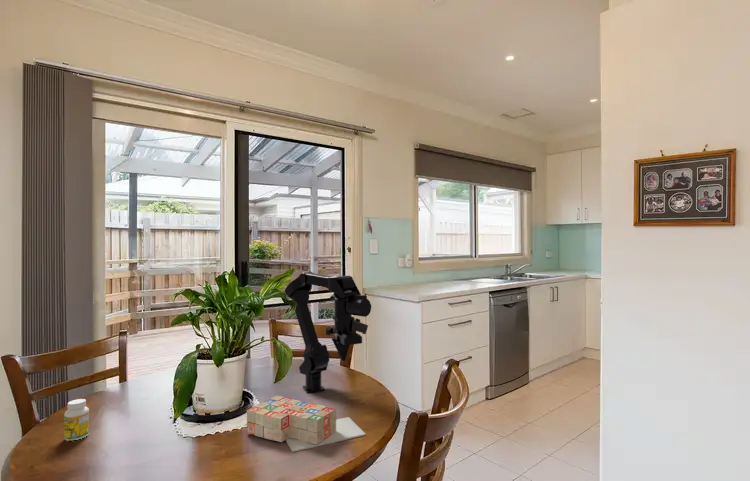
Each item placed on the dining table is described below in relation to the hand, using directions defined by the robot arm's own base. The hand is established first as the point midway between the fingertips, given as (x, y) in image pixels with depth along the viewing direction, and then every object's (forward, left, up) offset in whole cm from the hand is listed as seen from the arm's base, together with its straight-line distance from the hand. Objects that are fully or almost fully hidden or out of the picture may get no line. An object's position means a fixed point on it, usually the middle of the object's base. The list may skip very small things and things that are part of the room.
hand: (343, 360), depth 134 cm
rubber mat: (+20, -14, -13) cm, 28 cm away
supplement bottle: (-7, -74, -13) cm, 75 cm away
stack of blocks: (+13, -17, -10) cm, 23 cm away
